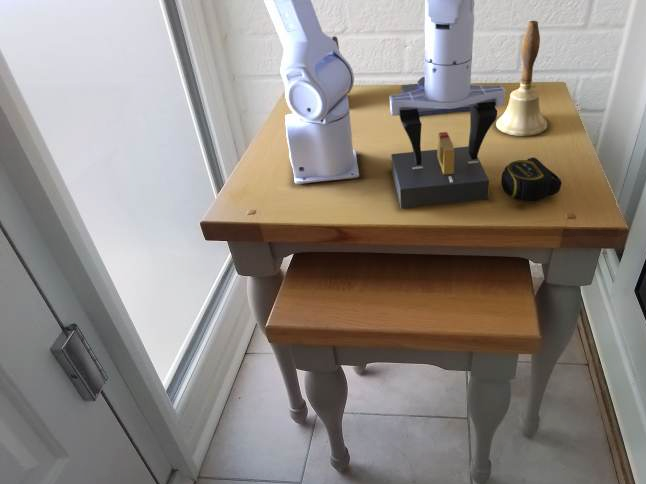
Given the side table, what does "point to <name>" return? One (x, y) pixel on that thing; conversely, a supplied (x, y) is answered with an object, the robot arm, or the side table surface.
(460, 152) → the plate
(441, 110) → the button base
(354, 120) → the side table surface
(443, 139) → the lock knob
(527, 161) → the tape measure
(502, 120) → the hand bell
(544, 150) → the side table surface
